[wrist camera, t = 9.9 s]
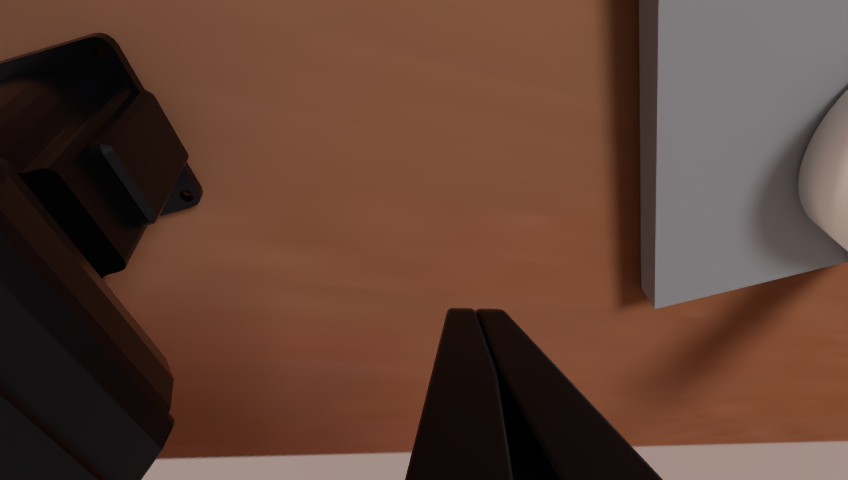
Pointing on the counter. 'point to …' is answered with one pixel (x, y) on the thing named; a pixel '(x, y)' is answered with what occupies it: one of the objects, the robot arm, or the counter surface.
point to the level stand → (732, 140)
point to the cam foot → (828, 174)
